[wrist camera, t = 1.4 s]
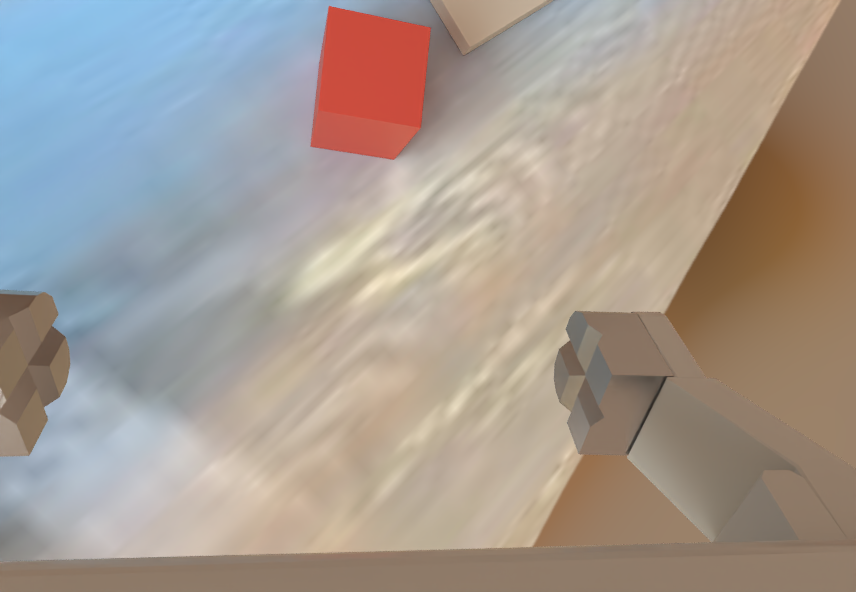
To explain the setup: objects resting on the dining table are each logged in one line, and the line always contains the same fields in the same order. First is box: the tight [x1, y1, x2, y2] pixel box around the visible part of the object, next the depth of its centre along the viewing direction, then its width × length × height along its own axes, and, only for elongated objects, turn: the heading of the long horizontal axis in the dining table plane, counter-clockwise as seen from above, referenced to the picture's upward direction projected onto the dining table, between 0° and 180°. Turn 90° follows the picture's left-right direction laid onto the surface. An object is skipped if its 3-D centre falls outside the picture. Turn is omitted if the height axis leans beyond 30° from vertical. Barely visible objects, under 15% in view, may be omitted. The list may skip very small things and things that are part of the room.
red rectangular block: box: [311, 6, 431, 160], centre depth 36 cm, size 6×6×8 cm
